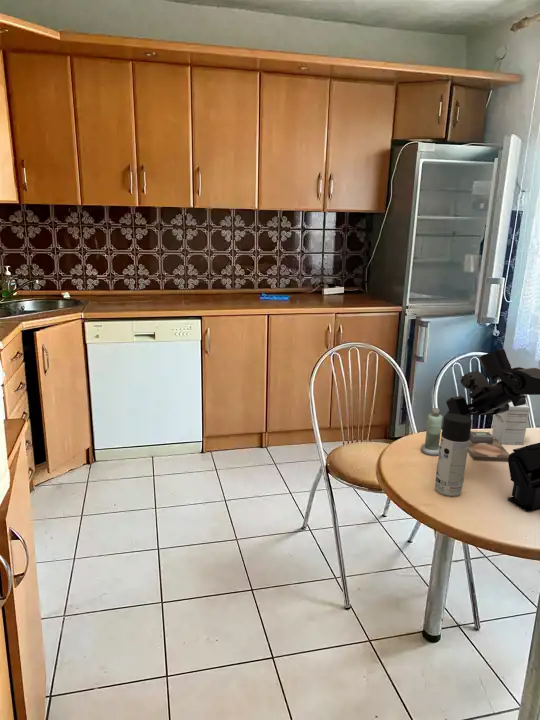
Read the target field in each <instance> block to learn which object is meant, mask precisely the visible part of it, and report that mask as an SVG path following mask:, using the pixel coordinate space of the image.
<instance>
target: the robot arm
mask: <svg viewBox="0 0 540 720" xmlns="http://www.w3.org/2000/svg"><path fill="white" fill-rule="evenodd" d="M478 360H479V362H480V365H481V366H482V369H483V371H484V373H485V375H486V376H485V375H484V374H483V373H482V372H481V371H478V370H475V371H474V370H473V371H469V372H467V373H465V375H462V376H461V379H460V384H461V386H463V388H464V389H468V390H469V391H470V392H469V394H468V395H469V398H470V399H471V403H467V400H466V399H465V397H464V396H462V395H458V396H452V397H450V398H448V399H446V402H445V403H446V406H447V407H448V408H447V409H448V411H447V412H446V413H445V415H446V414H451V413H452V414H459V415H464V416H467V417H469V418H471V416H495V414H500V413H504V412H506V411H508V410H509V404H508V403H510V402H512V403H513V405H514V406H515V407H516V406H521V405H525V404H526V398H527V395H528V396H530V395H531V396H533V395H534V396H540V368H537V367H528V368H524V367H521V366H517V367H512V365H511V363H510V360H509V358H508V356H507V353H506V350H505V349H504V348H498V349H496V350H494V351H490V352H489V353H486V354H485V353H484V354H482V355H481V356H479V358H478ZM489 380H492V382H496V383H493V384H492V385H491V384H490V382H489ZM497 381H498V382H497ZM512 451H513V452H511V453H509V454H510V455H509V458H508V462H507V463H508V470H509V471H508V472H509V478H510V481H511V482H513V484H512V492H511V496H509V497H507V501H509V502H510V503H511V504H514V505H515V506H516V507H518V508H520V509H522V510H523V511H525V512H526V513H530V512H531V513H532V512H535V511H540V442H536V443H532V444H529V445H528V444H527V445H525V446H522V447H518V448H514V449H512Z"/></svg>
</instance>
